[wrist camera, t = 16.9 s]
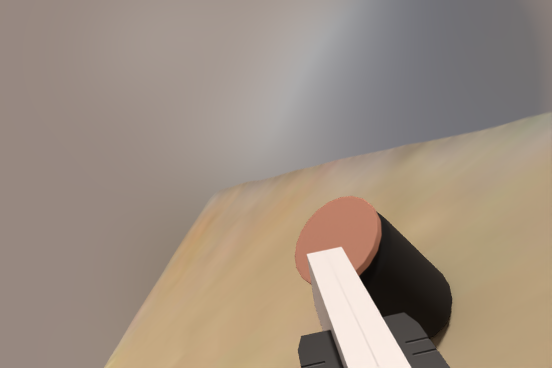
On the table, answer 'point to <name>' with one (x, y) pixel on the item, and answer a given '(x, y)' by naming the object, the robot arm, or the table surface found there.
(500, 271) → the table surface
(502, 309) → the table surface
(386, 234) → the coffee jar
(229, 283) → the table surface
